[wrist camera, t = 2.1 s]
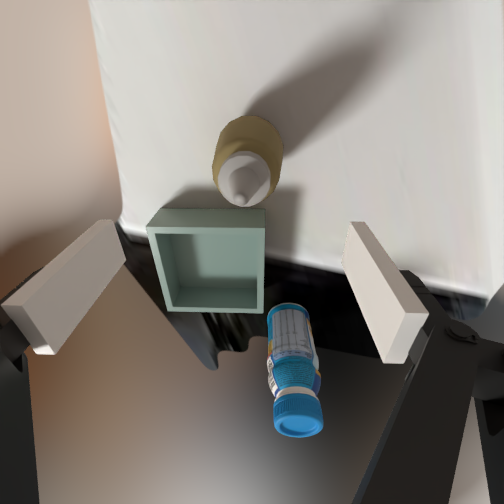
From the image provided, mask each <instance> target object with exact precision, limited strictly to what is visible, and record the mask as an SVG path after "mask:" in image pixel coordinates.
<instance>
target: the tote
mask: <svg viewBox="0 0 504 504" xmlns="http://www.w3.org/2000/svg"><path fill="white" fill-rule="evenodd" d="M146 230H147V234H148V238H149V242H150V246H151V249H152V253H153V257H154V261H155V265H156V268H157V272H158V276H159V280H160V283H161V287H162V291H163V295H164V299H165V302H166V306H167V310H168V311H186V312H229V313H263V298H264V251H265V209H203V208H160V209H159V210H158V212H157V213H156V214H155V215H154V217H153V218H152V219H151V221H150V222H149V223H148V224H147V226H146Z"/></svg>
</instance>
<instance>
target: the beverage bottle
mask: <svg viewBox="0 0 504 504" xmlns="http://www.w3.org/2000/svg"><path fill="white" fill-rule="evenodd" d="M267 322H268V342H269V343H268V350H269V351H268V354H269V356H268V358H267V367H268V370H269V375H268V382H269V386H270V389H271V391H272V393H273V394H274V396H275V397H276V399H275V402H274V424H275V428H276V430H277V431H278V432H280V433H281V434H283V435H286V436H290V437H307V436H312V435H315V434H317V433H318V432H320V431H321V430H322V428H323V416H322V411H321V406H320V402H319V400H318V398H317V397H316V396H317V394H318V392H319V388H320V383H321V377H320V373H319V372H318V367H319V363H318V357H317V355H316V352H315V347H314V342H313V337H312V332H311V327H310V319H309V314H308V312H307V310H306V309H305V308H304V307H302V306H301V305H299V304H296V303H282V304H279V305H276V306H275V307H273V308H272V309H271V310H270V312H269V314H268V317H267Z"/></svg>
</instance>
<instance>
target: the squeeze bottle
mask: <svg viewBox="0 0 504 504" xmlns="http://www.w3.org/2000/svg"><path fill="white" fill-rule="evenodd" d="M282 159H283V144H282V141H281V138H280V135H279V132H278V131H277V130H276V129H275V128H274V127H273V126H272V124H271V123H270V122H269V121H266V120H264V119H262V118H260V117H258V116H241V117H239V118H237V119H235V120H233V121H231V122H229V123H228V124H227V126H226V127H225V128H224V129H223V130H222V132H221V133H220V136H219V139H218V143H217V146H216V151H215V155H214V160H213V164H212V172H213V180H214V182H215V184H216V186H217V188H218V190H219V192H220V193H222V195H223V197H225V198H226V199H227V200H228V201H229V202H230V203H232V204H235V205H237V206H240V207H250V206H253V205H255V204H258V203H260V202H261V201H263V200H265V199H266V198H267V197H268V196H269V195H270V194H271V193H272V192H274V190H275V188H276V185H277V183H278V181H279V178H280V171H281V165H282Z"/></svg>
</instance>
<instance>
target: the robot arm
mask: <svg viewBox="0 0 504 504" xmlns="http://www.w3.org/2000/svg"><path fill="white" fill-rule="evenodd" d="M125 261H126V258H125V256H124V253H123V250H122V247H121V244H120V241H119V238H118V235H117V232H116V229H115V226H114V223H113V220H98V221H97V222H96V223H95V224H94V225H92V226H91V227H90V228H89V229H88V230H87V231H86V232H84V233H83V234H82V235H81V236H80V237H79V238H78V239H76V240H75V241H74V242H73V243H72V244H71V245H69V246H68V247H67V248H66V249H65V250H64V251H62V252H61V253H60V254H59V255H58V256H57V257H55V259H53V260H52V261H51V262H50V263H49V264H47V265H46V266H44V267H42V268H40V269H39V270H37V271H35V272H33V273H32V274H31V275H30V276H29V277H27V278H26V279H25V280H24V282H21V283H20V284H19V285H18V286H17V287H16V288H15V289H13V290H12V291H11V292H9V293H8V294H7V295H6V296H5V297H4V298H2V299H1V300H0V504H39V492H38V480H37V469H36V456H35V445H34V433H33V420H32V410H31V409H32V408H31V396H30V384H29V372H28V360H27V357H26V355H25V353H24V351H25V350H26V348H27V347H28V346H29V345H31V347H32V348H33V350H34V351H35V352H36V353H37V354H56V353H57V351H58V350H59V349H60V347H61V346H62V345H63V343H64V342H65V341H66V339H67V338H68V337H69V335H70V334H71V333H72V331H73V330H74V328H75V327H76V326H77V325H78V323H79V322H80V321H81V319H82V318H83V317H84V315H85V314H86V313H87V311H88V310H89V309H90V307H91V306H92V305H93V303H94V302H95V301H96V299H97V298H98V297H99V295H100V294H101V293H102V291H103V290H104V289H105V287H106V286H107V285H108V283H109V282H110V281H111V279H112V278H113V277H114V275H115V274H116V273H117V271H118V270H119V269H120V267H121V266H122V265H123V263H124V262H125ZM341 264H342V266H343V268H344V271H345V273H346V276H347V278H348V280H349V283H350V285H351V287H352V290H353V292H354V294H355V297H356V299H357V302H358V304H359V306H360V309H361V311H362V313H363V316H364V318H365V321H366V323H367V325H368V328H369V330H370V332H371V335H372V337H373V339H374V342H375V344H376V347H377V349H378V351H379V354H380V356H381V358H382V361H383V363H404V361H405V359H406V358H407V356H408V354H409V355H410V357H411V359H412V361H413V363H414V364H413V366H412V367H411V369H410V371H409V373H408V375H407V376H406V378H405V380H406V381H405V383H404V385H403V387H402V390H401V392H400V394H399V397H398V399H397V401H396V403H395V406H394V408H393V411H392V412H391V415H390V417H389V419H388V422H387V424H386V426H385V428H384V431H383V433H382V435H381V437H380V440H379V442H378V444H377V447H376V449H375V451H374V454H373V456H372V458H371V460H370V462H369V465H368V467H367V469H366V472H365V474H364V476H363V478H362V481H361V483H360V485H359V488H358V490H357V492H356V494H355V497H354V499H353V501H352V503H351V504H448V503H449V498H450V493H451V489H452V484H453V479H454V475H455V470H456V465H457V461H458V456H459V451H460V446H461V441H462V437H463V432H464V427H465V423H466V418H467V414H468V409H469V404H470V400H471V396H472V397H474V400H475V407H476V413H477V419H478V426H479V432H480V439H481V445H482V451H483V458H484V464H485V471H486V477H487V483H488V489H489V496H490V503H491V504H504V344H502V343H498V342H494V341H490V340H486V339H482V338H480V337H479V335H478V334H477V332H475V331H474V330H473V329H471V327H469V326H467V325H465V324H463V323H462V322H459V321H456V320H453V319H451V318H450V317H449V316H448V314H447V313H446V312H445V311H444V309H443V308H442V307H441V305H440V304H439V303H438V302H437V300H436V299H435V298H434V296H433V295H431V293H430V291H429V290H428V289H427V288H426V287H425V285H424V284H423V282H422V281H421V280H420V278H419V277H417V276H416V275H414V274H413V273H412V272H410V271H409V270H398V268H397V267H396V266H395V264H394V263H393V261H392V260H391V259H390V257H389V256H388V254H387V253H386V251H385V250H384V249H383V247H382V246H381V244H380V243H379V242H378V240H377V239H376V237H375V236H374V234H373V233H372V232H371V230H370V229H369V227H368V226H367V225H366V223H365V222H350V225H349V230H348V234H347V239H346V243H345V248H344V252H343V257H342V261H341Z"/></svg>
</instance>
